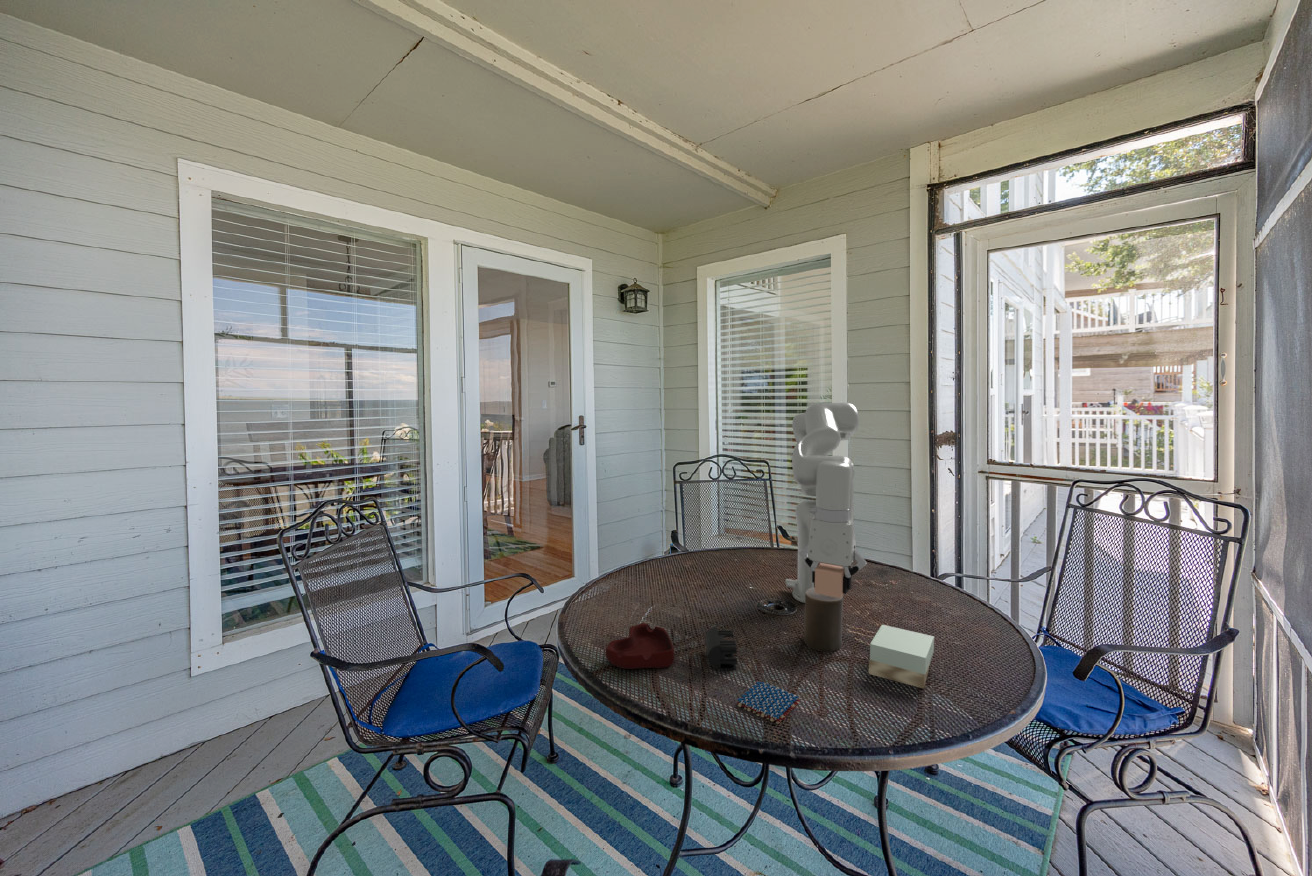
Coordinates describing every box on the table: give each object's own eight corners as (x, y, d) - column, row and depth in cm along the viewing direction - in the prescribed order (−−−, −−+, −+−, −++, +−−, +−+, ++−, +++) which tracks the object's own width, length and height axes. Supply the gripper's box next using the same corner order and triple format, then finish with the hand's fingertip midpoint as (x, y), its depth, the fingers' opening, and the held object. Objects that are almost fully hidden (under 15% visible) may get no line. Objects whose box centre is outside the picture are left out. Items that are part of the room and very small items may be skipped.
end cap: (705, 650, 141) (704, 626, 140) (732, 650, 141) (732, 626, 140) (708, 671, 131) (707, 645, 131) (737, 671, 131) (736, 645, 130)
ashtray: (655, 686, 126) (654, 665, 126) (599, 667, 135) (599, 648, 134) (690, 651, 141) (690, 633, 141) (639, 637, 150) (638, 620, 149)
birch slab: (868, 675, 129) (868, 659, 128) (878, 653, 139) (878, 638, 139) (924, 690, 123) (924, 674, 122) (929, 666, 133) (930, 650, 132)
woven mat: (779, 728, 111) (779, 719, 110) (735, 708, 118) (735, 699, 117) (802, 704, 118) (802, 695, 118) (759, 686, 125) (759, 678, 125)
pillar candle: (822, 655, 138) (824, 599, 136) (796, 639, 146) (797, 586, 144) (849, 646, 142) (851, 592, 140) (822, 631, 151) (824, 579, 149)
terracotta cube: (814, 592, 126) (815, 568, 125) (822, 584, 131) (822, 560, 130) (840, 598, 123) (841, 573, 122) (847, 589, 128) (848, 565, 127)
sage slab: (869, 659, 129) (870, 643, 128) (881, 639, 138) (882, 624, 138) (925, 674, 122) (925, 657, 121) (933, 652, 131) (934, 636, 131)
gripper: (791, 513, 126) (790, 587, 128) (868, 523, 117) (866, 602, 119) (801, 506, 132) (800, 576, 135) (875, 515, 123) (873, 590, 125)
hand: (831, 588), depth 127 cm, fingers closed on terracotta cube, 6 cm apart
